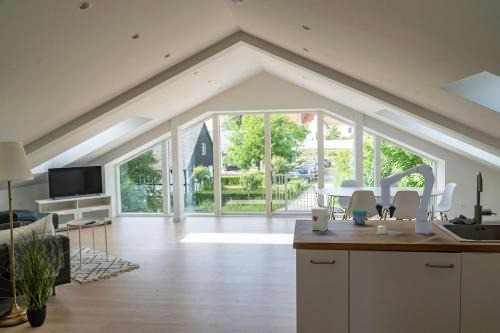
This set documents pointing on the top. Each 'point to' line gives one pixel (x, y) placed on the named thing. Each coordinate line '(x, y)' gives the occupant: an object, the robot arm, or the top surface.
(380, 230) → the cap
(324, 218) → the supplement box
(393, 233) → the board
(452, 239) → the top surface
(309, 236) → the top surface
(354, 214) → the snack cup
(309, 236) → the top surface
